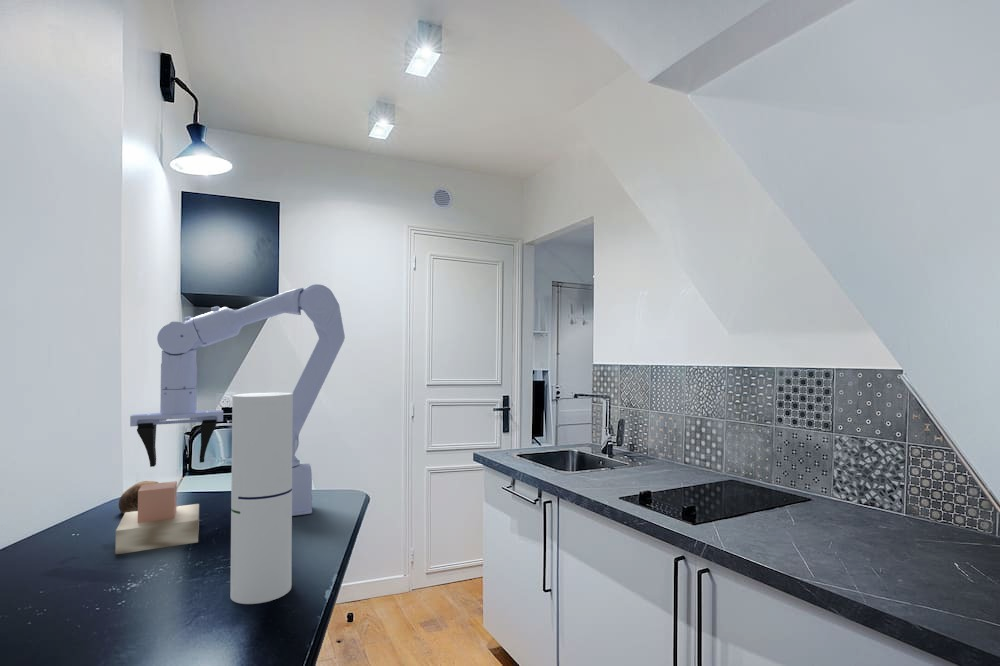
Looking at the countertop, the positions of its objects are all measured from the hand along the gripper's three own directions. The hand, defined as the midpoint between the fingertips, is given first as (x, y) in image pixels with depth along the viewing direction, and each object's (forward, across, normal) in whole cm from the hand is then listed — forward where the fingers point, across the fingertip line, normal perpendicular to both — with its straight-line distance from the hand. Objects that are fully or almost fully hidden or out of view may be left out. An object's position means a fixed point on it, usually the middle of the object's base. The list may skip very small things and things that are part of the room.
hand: (177, 463), depth 100 cm
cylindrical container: (+11, +12, -39) cm, 42 cm away
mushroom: (+11, -7, +11) cm, 17 cm away
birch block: (+11, -2, -9) cm, 14 cm away
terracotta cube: (+7, -2, -9) cm, 11 cm away
